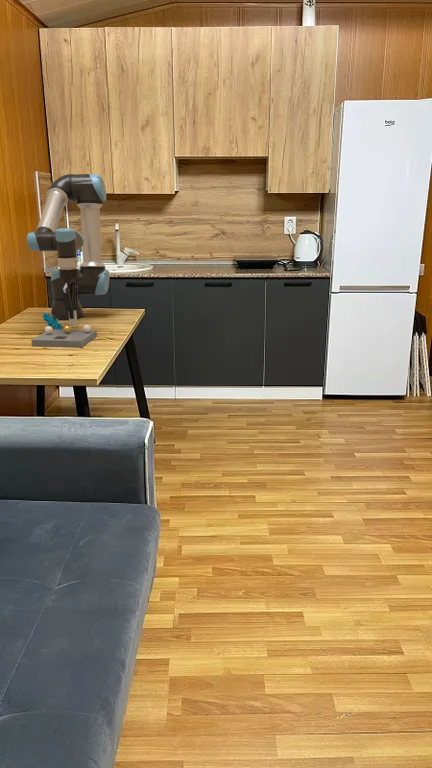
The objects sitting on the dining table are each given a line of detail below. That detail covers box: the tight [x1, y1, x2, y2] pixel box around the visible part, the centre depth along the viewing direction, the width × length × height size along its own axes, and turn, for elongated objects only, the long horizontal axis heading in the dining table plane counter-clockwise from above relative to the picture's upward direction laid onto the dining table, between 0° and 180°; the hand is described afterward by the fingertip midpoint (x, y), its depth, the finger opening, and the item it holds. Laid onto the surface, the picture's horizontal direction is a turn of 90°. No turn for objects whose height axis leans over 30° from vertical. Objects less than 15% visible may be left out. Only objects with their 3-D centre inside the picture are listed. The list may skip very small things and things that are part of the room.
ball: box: [62, 324, 73, 333], centre depth 226 cm, size 3×3×3 cm
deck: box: [30, 328, 98, 348], centre depth 224 cm, size 18×20×2 cm
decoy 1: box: [44, 325, 54, 334], centre depth 225 cm, size 3×3×3 cm
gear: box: [42, 312, 63, 331], centre depth 242 cm, size 11×6×10 cm
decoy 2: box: [82, 324, 92, 333], centre depth 227 cm, size 3×3×3 cm
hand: (73, 326), depth 232 cm, fingers closed
